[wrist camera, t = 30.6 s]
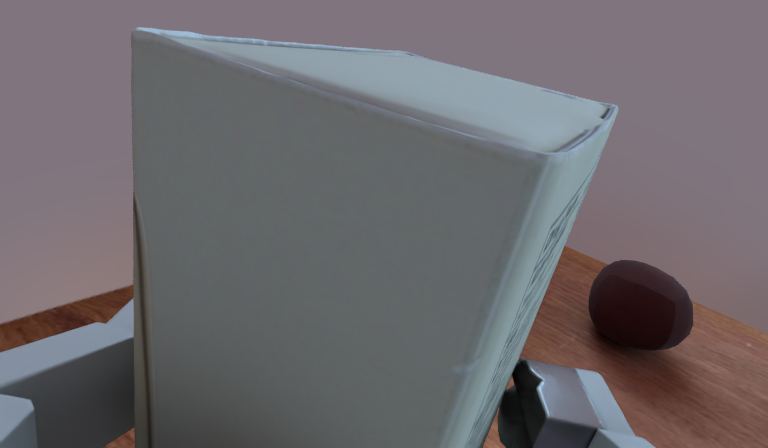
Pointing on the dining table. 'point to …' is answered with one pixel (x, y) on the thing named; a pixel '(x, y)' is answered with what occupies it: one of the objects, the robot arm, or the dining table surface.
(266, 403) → the cosmetic box
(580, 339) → the dining table surface
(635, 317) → the potato
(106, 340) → the robot arm
